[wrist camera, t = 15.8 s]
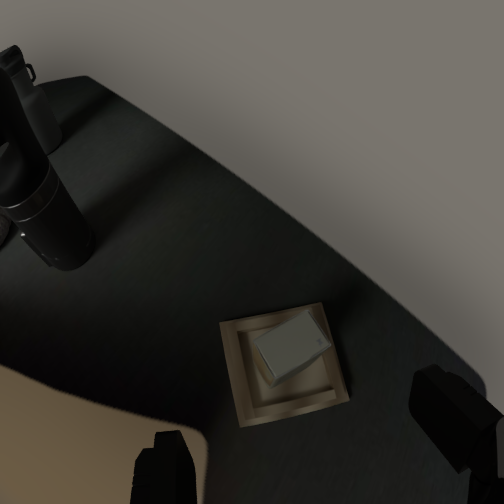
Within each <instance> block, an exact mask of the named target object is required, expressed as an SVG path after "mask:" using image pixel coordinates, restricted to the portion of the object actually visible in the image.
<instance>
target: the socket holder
mask: <svg viewBox="0 0 504 504" xmlns="http://www.w3.org/2000/svg"><path fill="white" fill-rule="evenodd" d="M305 310H309V312H310V313H311V314H312V316H313V317H314V318H315V320H316V321H317V323H318V324H319V326H320V327H321V329H322V330H323V332H324V334H325V335H326V337H327V338H328V340H329V341H330V343H331V346H330V347H329V348H328V349H327V350H326V351H325V352H324V353H323V354H322V355H321V356H320V357H319V358H318V359H317V360H316V361H315V362H313V363H312V364H311V365H310V366H309V367H307V368H306V369H304V370H303V371H301V372H300V373H298V374H297V375H295V376H293V377H292V378H290V379H288V380H287V381H285V382H283V383H281V384H279V385H278V386H276V387H274V388H272V389H269V388H268V387H267V385H266V384H265V382H264V380H263V379H262V377H261V375H260V373H259V372H258V370H257V368H256V366H255V364H254V363H253V340H254V339H255V338H257V337H259V336H260V335H262V334H264V333H265V332H267V331H269V330H270V329H272V328H274V327H275V326H277V325H279V324H281V323H282V322H284V321H286V320H288V319H289V318H291V317H293V316H295V315H297V314H299V313H301V312H303V311H305ZM219 324H220V329H221V335H222V340H223V346H224V351H225V356H226V361H227V367H228V372H229V377H230V382H231V387H232V391H233V396H234V401H235V406H236V411H237V415H238V420H239V425H240V427H245V426H251V425H256V424H261V423H266V422H270V421H275V420H280V419H284V418H288V417H292V416H296V415H300V414H304V413H308V412H312V411H316V410H319V409H323V408H326V407H330V406H333V405H336V404H340V403H343V402H346V401H349V397H348V393H347V389H346V385H345V382H344V378H343V374H342V371H341V367H340V363H339V360H338V356H337V353H336V349H335V346H334V342H333V339H332V335H331V332H330V329H329V325H328V322H327V319H326V315H325V312H324V309H323V305H322V302H319V303H315V304H310V305H306V306H301V307H297V308H292V309H287V310H282V311H277V312H272V313H267V314H262V315H257V316H252V317H247V318H241V319H236V320H231V321H225V322H219Z"/></svg>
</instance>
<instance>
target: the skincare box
mask: <svg viewBox="0 0 504 504" xmlns="http://www.w3.org/2000/svg"><path fill="white" fill-rule="evenodd" d="M330 346H331V343H330V341H329V340H328V338H327V337H326V335H325V334H324V332H323V330H322V329H321V327H320V326H319V324H318V323H317V321H316V320H315V318H314V317H313V316H312V314H311V313H310V312H309V310H305V311H303V312H301V313H299V314H297V315H295V316H293V317H291V318H289V319H288V320H286V321H284V322H282V323H281V324H279V325H277V326H275V327H274V328H272V329H270V330H269V331H267V332H265V333H264V334H262V335H260V336H259V337H257V338H255V339H254V340H253V363H254V364H255V366H256V368H257V370H258V372H259V373H260V375H261V377H262V379H263V380H264V382H265V384H266V385H267V387H268V388H269V389H272V388H274V387H276V386H278V385H279V384H281V383H283V382H285V381H287V380H288V379H290V378H292V377H293V376H295V375H297V374H298V373H300V372H301V371H303V370H304V369H306V368H307V367H309V366H310V365H311V364H312V363H313V362H315V361H316V360H317V359H318V358H319V357H320V356H321V355H322V354H323V353H324V352H325V351H326V350H327V349H328V348H329V347H330Z"/></svg>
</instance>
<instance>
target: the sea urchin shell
mask: <svg viewBox="0 0 504 504" xmlns="http://www.w3.org/2000/svg"><path fill="white" fill-rule="evenodd" d="M10 225H11V218H10V217H9V216H8V215H7V214H6V213H5V211H4V210H3V209H2V208H1V207H0V246H1V245H2V243H4V239H5V238H6V236H7V234H8V231H9V227H10Z"/></svg>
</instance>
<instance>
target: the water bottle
mask: <svg viewBox="0 0 504 504" xmlns="http://www.w3.org/2000/svg"><path fill="white" fill-rule="evenodd" d="M26 67H28V68H29V69H30V71H31V73H32V76H33V78H32V80H31V79H30V76H29V73H28V71H27V68H26ZM0 68H2V69H4V70H5V71H6V72H7V73H8V75H9V76H10V78H11V80H12V82H13V84H14V87H15V89H16V91H17V94H18V96H19V99H20V102H21V104H22V107H23V109H24V112H25V114H26V117H27V119H28V121H29V124H30V126H31V128H32V130H33V132H34V134H35V136H36V138H37V139H38V141H39V143H40V145H41V147H42V149H43V151H44V152H45V154H46V155H48V154H50V153H51V152H52V151H54V150H55V149H56V148H57V147H58V145H59V144H60V143H61V141H62V137H63V134H62V131H61V129H60V127H59V125H58V123H57V120H56V118H55V116H54V114H53V112H52V109H51V107H50V105H49V102H48V100H47V98H46V95H45V93H44V91H43V89H42V88H41V87H38V86H33V83H32V82H34V81H35V79H36V75H35V72H34V70H33V67H32V65H31V64H25V61H24V58H23V54H22V52H21V50H20V48H19V47H18V46H16V45H13V46H11V47H10V48H8V49H6V50H4V51H2V52H0Z"/></svg>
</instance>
